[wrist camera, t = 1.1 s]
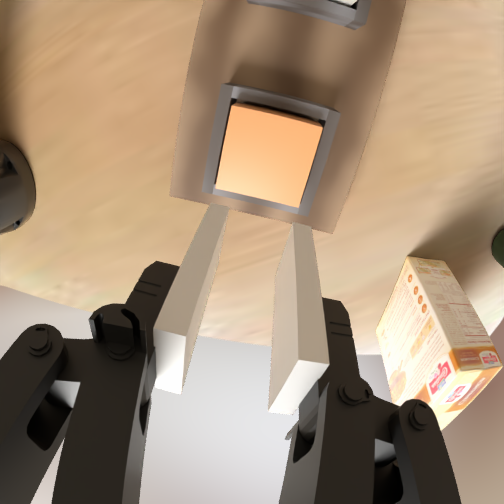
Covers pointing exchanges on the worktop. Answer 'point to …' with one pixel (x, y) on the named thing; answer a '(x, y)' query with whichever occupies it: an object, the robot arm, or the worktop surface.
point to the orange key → (267, 153)
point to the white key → (344, 2)
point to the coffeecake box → (434, 341)
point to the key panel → (285, 93)
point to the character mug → (499, 248)
